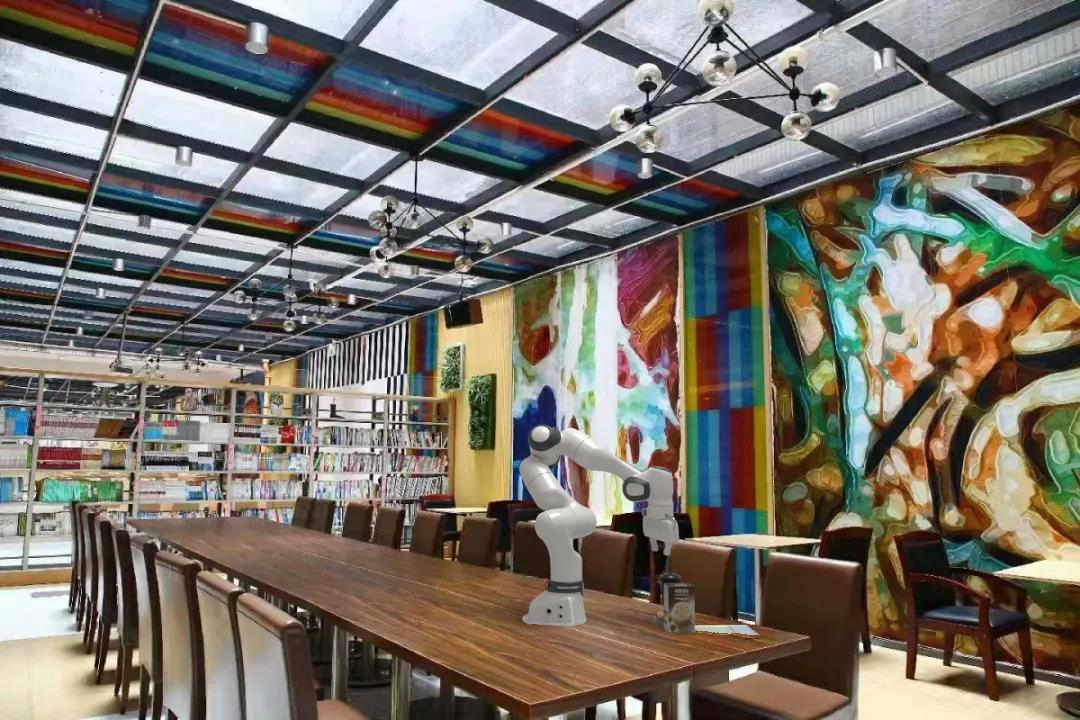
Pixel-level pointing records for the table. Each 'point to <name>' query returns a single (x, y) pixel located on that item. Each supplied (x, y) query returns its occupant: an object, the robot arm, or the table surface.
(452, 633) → the table surface
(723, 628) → the picture board
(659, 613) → the button
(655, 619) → the button housing
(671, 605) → the coffee box
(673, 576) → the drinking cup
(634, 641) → the table surface
